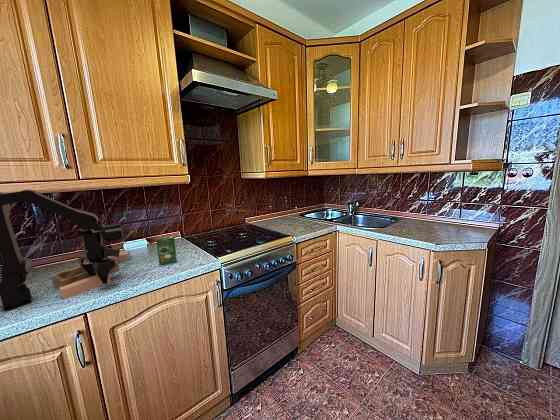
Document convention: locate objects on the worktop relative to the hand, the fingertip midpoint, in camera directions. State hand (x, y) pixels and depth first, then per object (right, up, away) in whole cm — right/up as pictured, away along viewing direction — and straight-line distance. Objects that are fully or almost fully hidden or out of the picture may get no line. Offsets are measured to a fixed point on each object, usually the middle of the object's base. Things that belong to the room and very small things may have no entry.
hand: (99, 281), depth 95 cm
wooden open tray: (-11, 0, +7) cm, 13 cm away
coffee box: (+19, +3, +19) cm, 27 cm away
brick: (-13, +2, +25) cm, 28 cm away
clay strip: (-2, -2, -4) cm, 5 cm away
